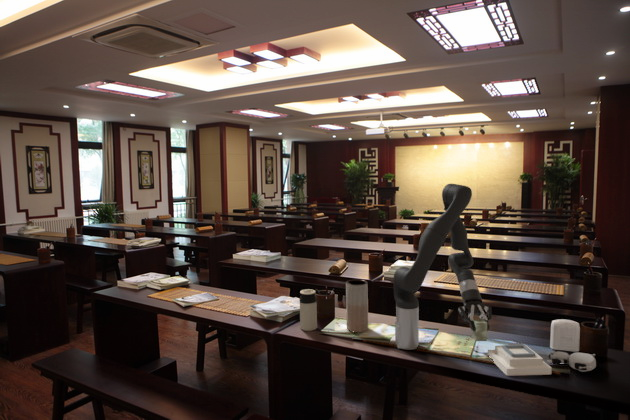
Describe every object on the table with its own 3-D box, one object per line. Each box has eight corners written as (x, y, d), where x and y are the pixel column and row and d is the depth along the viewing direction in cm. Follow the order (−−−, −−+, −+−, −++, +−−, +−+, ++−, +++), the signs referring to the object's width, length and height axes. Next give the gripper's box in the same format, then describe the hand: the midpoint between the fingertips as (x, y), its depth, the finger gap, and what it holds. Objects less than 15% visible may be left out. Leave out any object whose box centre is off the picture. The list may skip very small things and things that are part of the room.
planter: (353, 323, 202) (352, 278, 200) (371, 327, 196) (371, 280, 194) (342, 330, 194) (341, 282, 192) (361, 334, 188) (360, 285, 186)
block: (475, 341, 166) (476, 323, 165) (471, 337, 170) (472, 319, 169) (486, 341, 166) (487, 322, 166) (482, 337, 170) (483, 319, 170)
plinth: (506, 375, 148) (507, 359, 147) (487, 356, 164) (487, 341, 163) (551, 374, 148) (551, 358, 147) (527, 354, 164) (528, 340, 163)
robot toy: (546, 369, 154) (594, 378, 144) (545, 357, 153) (594, 365, 144) (551, 357, 163) (597, 364, 154) (551, 346, 163) (597, 352, 154)
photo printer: (577, 348, 168) (578, 319, 167) (580, 353, 164) (581, 322, 163) (548, 346, 171) (549, 317, 170) (551, 350, 167) (552, 320, 166)
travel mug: (320, 326, 199) (319, 290, 198) (311, 332, 192) (310, 294, 191) (306, 324, 203) (305, 288, 202) (297, 329, 197) (296, 292, 195)
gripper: (455, 288, 174) (465, 326, 163) (489, 288, 175) (501, 326, 164) (451, 297, 180) (460, 334, 169) (483, 296, 180) (495, 334, 169)
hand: (480, 330), depth 166 cm, fingers closed on block, 4 cm apart
